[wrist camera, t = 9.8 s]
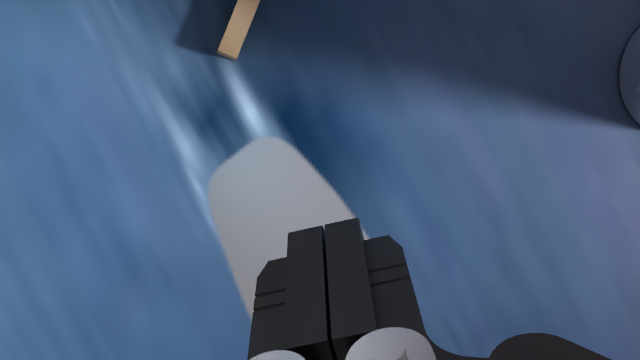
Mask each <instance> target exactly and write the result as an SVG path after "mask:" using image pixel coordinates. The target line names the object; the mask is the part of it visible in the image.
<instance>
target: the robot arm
mask: <svg viewBox="0 0 640 360" xmlns="http://www.w3.org/2000/svg"><path fill="white" fill-rule="evenodd" d="M619 76H620V90H621V94H622V99H623V101H624V104H625V106H626V108H627V110H628V112H629V113H630V114H631V116H632V117H633V119H634V120H635V121H636V122H637V123H639V124H640V27H639V28H638V30H637V31H636V32H635V33H634V34H633V36H632V37H631V39H630V41H629V43H628V44H627V46H626V48H625V51H624V54H623V57H622V60H621V66H620V73H619ZM255 296H256V298H255V301H254V313H253V317H252V326H251V334H250V342H249V351H248V359H247V360H611V359H609V358H606V357H604V356H602V355H600V354H597V353H595V352H593V351H591V350H588V349H586V348H584V347H582V346H579V345H577V344H575V343H573V342H570V341H568V340H566V339H563V338H561V337H558V336H554V335H550V334H544V333H528V334H521V335H517V336H514V337H511V338H509V339H507V340H505V341H503V342H502V343H501V344H499V345H498V346H497V347H496V348H495V349H494V350H493V352H492V353H491V355H490V357H489V358H478V357H466V356H460V355H456V354H452V353H450V352H447V351H445V350H443V349H441V348H440V347H438V346H437V345H435V344H434V343H433V342H432V341H431V340H430V338H429V337H428V335H427V334H426V331H425V329H424V325H423V321H422V318H421V314H420V310H419V307H418V303H417V300H416V296H415V292H414V289H413V285H412V281H411V278H410V274H409V271H408V267H407V263H406V260H405V256H404V252H403V249H402V246H400V245H399V244H398V243H397V242H396V241H394V240H393V239H392V238H391V237H390V236H388V235H387V236H382V237H378V238H373V239H368V240H364V238H363V233H362V229H361V225H360V221H359V218H354V219H349V220H344V221H340V222H335V223H331V224H326V225H325V230H324V228H323V226H317V227H313V228H308V229H304V230H299V231H295V232H290V233H289V234H288V248H287V257H285V258H281V259H276V260H272V261H268V263H267V264H266V266H265V267H264V269H263V270H262V272H261V273H260V275H259V276H258V278H257V284H256V292H255Z"/></svg>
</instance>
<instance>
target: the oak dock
mask: <svg viewBox="0 0 640 360" xmlns="http://www.w3.org/2000/svg"><path fill="white" fill-rule="evenodd" d="M259 2H260V0H237V3H236V5H235V8H234V10H233V13H232V15H231V18H230V20H229V23H228V25H227V28H226V30H225V33H224V35H223V38H222V40H221V43H220V45H219V48H218V50H217V53H218V54H220V55H222V56H224V57H227V58H229V59H231V60H233V61H234V60H236V59H237V57H238V54H239V52H240V49H241V47H242V44H243V42H244V39H245V37H246V34H247V32H248V30H249V27H250V25H251V22H252V20H253V17H254V15H255V12H256V10H257V7H258V5H259Z"/></svg>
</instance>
